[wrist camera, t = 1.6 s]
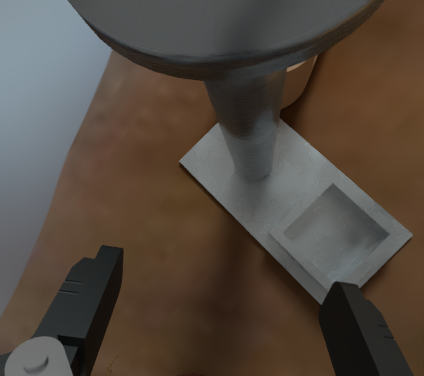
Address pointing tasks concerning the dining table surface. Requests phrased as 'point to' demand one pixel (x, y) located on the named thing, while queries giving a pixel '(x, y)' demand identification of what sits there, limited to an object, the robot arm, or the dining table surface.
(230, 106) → the metal post stand
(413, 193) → the dining table surface
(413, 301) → the dining table surface
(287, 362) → the dining table surface
